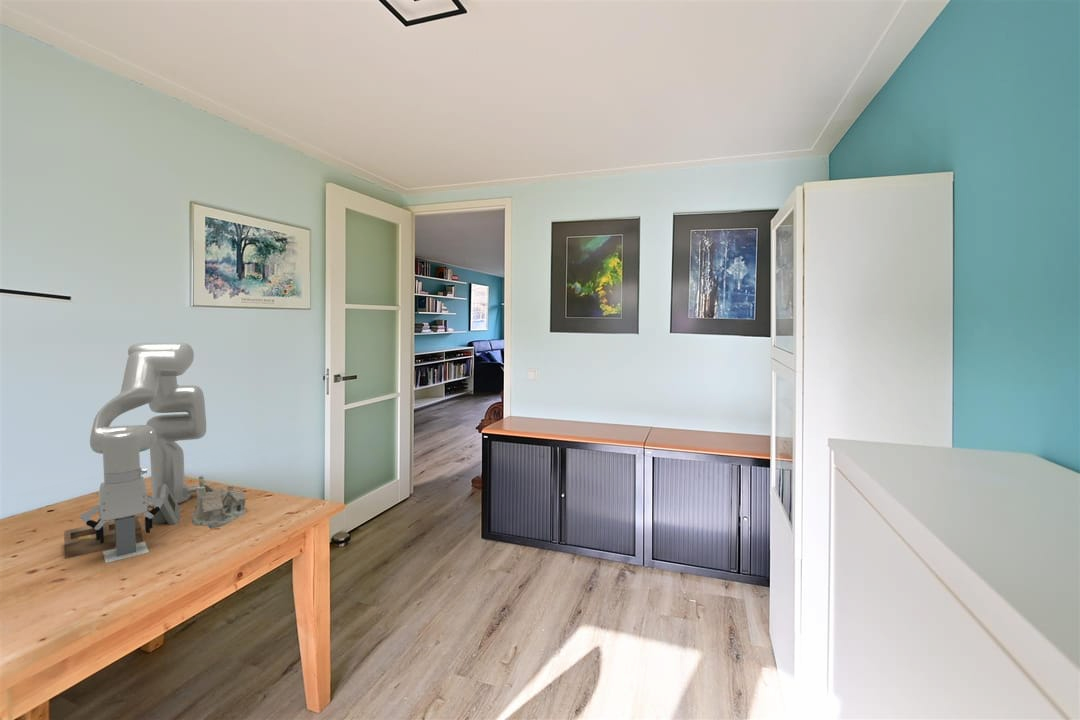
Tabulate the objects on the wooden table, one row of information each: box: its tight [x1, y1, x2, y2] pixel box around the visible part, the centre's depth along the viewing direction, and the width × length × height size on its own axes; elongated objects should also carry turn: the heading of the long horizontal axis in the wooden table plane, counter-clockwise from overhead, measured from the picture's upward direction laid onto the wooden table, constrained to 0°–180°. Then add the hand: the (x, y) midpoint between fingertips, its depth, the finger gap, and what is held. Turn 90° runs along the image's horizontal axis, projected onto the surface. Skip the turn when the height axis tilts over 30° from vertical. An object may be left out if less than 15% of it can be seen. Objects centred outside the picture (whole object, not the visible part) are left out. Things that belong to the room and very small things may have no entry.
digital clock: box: [152, 484, 181, 526], centre depth 157 cm, size 16×9×11 cm, turn 24°
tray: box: [102, 541, 149, 564], centre depth 133 cm, size 9×9×1 cm
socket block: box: [63, 515, 143, 559], centre depth 139 cm, size 16×12×5 cm
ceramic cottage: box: [191, 475, 247, 530], centre depth 159 cm, size 16×16×15 cm
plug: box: [113, 515, 137, 556], centre depth 133 cm, size 4×4×10 cm
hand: (125, 536), depth 133 cm, fingers open, 9 cm apart
